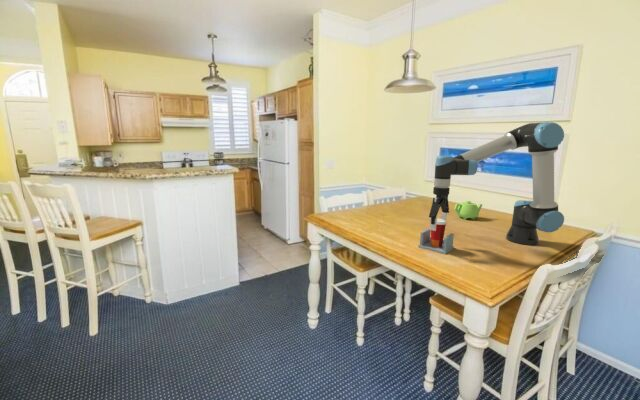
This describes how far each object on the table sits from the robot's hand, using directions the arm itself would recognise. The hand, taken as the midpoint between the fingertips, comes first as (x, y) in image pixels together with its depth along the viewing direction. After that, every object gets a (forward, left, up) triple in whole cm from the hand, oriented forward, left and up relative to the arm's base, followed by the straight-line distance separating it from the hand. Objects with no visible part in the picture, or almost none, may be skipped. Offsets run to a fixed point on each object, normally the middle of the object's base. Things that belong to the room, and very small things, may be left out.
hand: (438, 227), depth 154 cm
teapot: (+7, -75, -11) cm, 76 cm away
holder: (0, 0, -11) cm, 11 cm away
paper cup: (0, 0, -10) cm, 10 cm away
